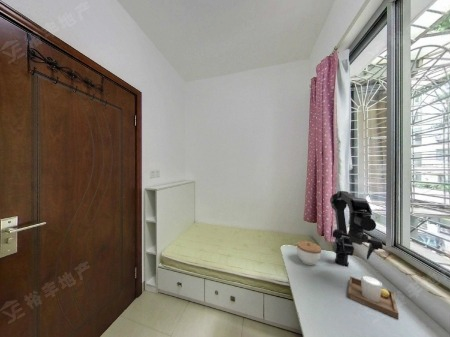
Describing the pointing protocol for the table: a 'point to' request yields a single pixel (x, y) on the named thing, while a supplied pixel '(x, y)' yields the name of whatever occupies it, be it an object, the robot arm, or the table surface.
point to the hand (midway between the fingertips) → (354, 255)
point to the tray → (384, 305)
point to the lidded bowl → (308, 252)
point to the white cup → (371, 288)
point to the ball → (384, 293)
